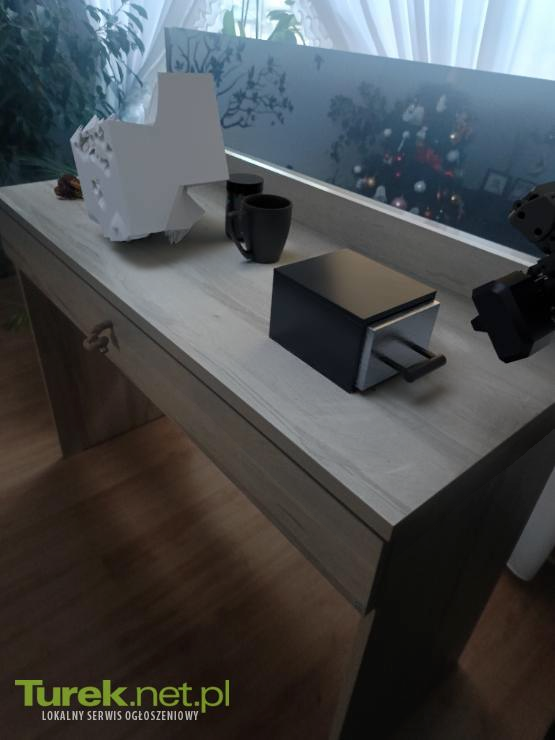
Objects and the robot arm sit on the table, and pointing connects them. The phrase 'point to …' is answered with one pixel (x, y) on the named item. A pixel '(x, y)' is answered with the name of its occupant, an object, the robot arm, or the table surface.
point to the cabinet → (336, 309)
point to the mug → (262, 226)
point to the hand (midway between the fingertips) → (474, 325)
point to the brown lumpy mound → (68, 186)
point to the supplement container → (240, 197)
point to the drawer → (399, 346)
